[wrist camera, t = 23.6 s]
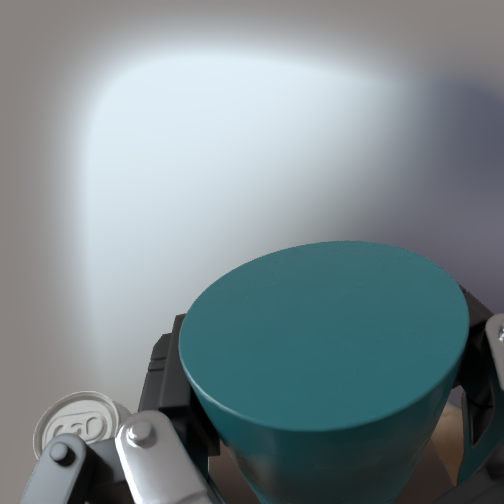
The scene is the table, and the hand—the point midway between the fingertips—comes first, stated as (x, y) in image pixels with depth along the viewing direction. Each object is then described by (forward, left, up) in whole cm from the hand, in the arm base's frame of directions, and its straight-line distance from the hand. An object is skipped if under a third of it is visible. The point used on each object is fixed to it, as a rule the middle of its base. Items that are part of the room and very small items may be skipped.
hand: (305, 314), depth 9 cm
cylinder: (0, -3, -10) cm, 10 cm away
